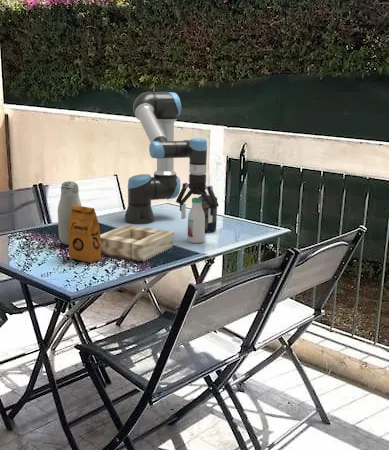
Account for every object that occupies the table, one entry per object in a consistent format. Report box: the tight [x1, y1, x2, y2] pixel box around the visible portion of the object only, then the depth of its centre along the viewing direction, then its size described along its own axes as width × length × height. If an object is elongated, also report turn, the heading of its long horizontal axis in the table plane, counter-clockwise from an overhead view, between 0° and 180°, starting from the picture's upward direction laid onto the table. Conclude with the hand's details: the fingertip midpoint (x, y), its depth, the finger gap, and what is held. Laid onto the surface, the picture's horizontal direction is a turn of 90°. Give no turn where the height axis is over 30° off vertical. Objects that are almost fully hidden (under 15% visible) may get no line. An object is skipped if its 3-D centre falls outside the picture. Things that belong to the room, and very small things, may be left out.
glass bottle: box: [57, 181, 82, 246], centre depth 245 cm, size 10×10×28 cm
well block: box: [100, 223, 174, 263], centre depth 243 cm, size 24×24×7 cm
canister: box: [197, 194, 218, 233], centre depth 275 cm, size 10×10×18 cm
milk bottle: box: [187, 197, 206, 244], centre depth 256 cm, size 8×8×20 cm
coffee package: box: [68, 205, 102, 264], centre depth 227 cm, size 10×12×22 cm
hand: (196, 220), depth 256 cm, fingers open, 13 cm apart
